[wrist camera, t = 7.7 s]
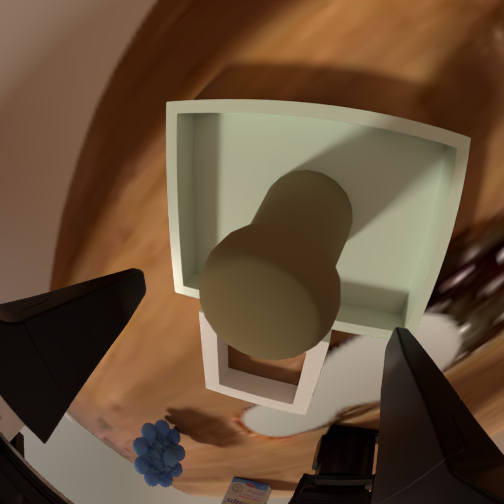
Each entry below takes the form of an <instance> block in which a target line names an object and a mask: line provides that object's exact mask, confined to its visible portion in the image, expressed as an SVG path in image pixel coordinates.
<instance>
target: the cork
mask: <svg viewBox="0 0 504 504" xmlns="http://www.w3.org/2000/svg"><path fill="white" fill-rule="evenodd" d="M352 222H353V216H352V206H351V203H350V201H349V198H348V196H347V194H346V192H345V191H344V190H343V189H342V187H341V186H340V185H339V184H338V183H337V182H336V181H335V180H333V179H331V178H330V177H328V176H326V175H325V174H323V173H319V172H315V171H310V170H303V171H293V172H291V173H289V174H286V175H284V176H282V177H280V178H279V179H278V180H277V181H276V182H275V183H274V184H273V185H271V186H270V188H269V190H268V192H267V194H266V196H265V197H264V199H263V201H262V203H261V205H260V207H259V209H258V210H257V212H256V214H255V216H254V218H253V220H252V222H251V224H249V225H247V226H244V227H242V228H239V229H237V230H235V231H232V232H231V233H230V234H228V235H227V236H226V237H225V238H224V239H223V240H222V241H221V242H220V243H219V244H218V245H217V246H216V247H215V248H214V249H212V250H211V252H210V254H209V256H208V259H207V261H206V263H205V265H204V268H203V270H202V272H201V275H200V285H199V296H200V303H201V306H202V310H203V313H204V316H205V318H206V320H207V321H208V323H209V324H210V326H211V328H212V329H213V331H214V332H215V333H216V334H217V335H218V336H219V337H220V338H221V339H222V340H224V341H225V342H226V343H227V344H228V345H230V346H232V347H233V348H235V349H237V350H238V351H240V352H242V353H244V354H247V355H250V356H253V357H256V358H259V359H270V360H281V359H288V358H294V357H296V356H298V355H300V354H302V353H304V352H306V351H308V350H310V349H312V348H313V347H315V346H316V345H317V344H318V343H319V342H320V341H321V340H322V339H323V338H324V337H325V336H326V335H327V334H328V333H329V331H330V330H331V328H332V326H333V324H334V322H335V319H336V317H337V314H338V311H339V309H340V302H341V284H340V277H339V274H338V272H337V269H336V265H337V263H338V260H339V258H340V255H341V253H342V251H343V248H344V246H345V243H346V241H347V238H348V236H349V233H350V229H351V226H352Z"/></svg>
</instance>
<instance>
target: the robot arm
mask: <svg viewBox="0 0 504 504" xmlns="http://www.w3.org/2000/svg"><path fill="white" fill-rule="evenodd" d="M145 293H146V284H145V278H144V273H143V271H142V270H139V269H135V268H131V269H128V270H124V271H120V272H117V273H113V274H110V275H106V276H103V277H99V278H96V279H92V280H89V281H85V282H82V283H78V284H75V285H71V286H68V287H64V288H61V289H58V290H55V291H51V292H47V293H44V294H40V295H37V296H33V297H29V298H25V299H20V300H16V301H12V302H8V303H3V304H0V504H74V503H73V502H71V501H70V500H69V499H68V498H66V497H65V496H64V495H63V494H62V493H60V492H59V491H58V490H57V489H55V488H54V487H53V486H52V485H51V484H50V483H49V482H48V481H46V480H45V479H44V478H43V477H42V476H41V475H40V474H39V473H38V472H37V471H36V470H35V469H34V468H33V467H32V466H31V465H30V464H29V463H28V462H27V461H26V460H25V459H24V436H23V435H22V434H21V433H20V432H19V431H20V430H21V429H22V428H23V426H24V425H26V427H27V428H28V429H29V430H30V431H31V432H32V433H33V434H34V435H35V436H36V437H37V438H39V439H40V440H41V441H42V442H43V443H44V444H45V443H46V442H47V441H48V439H49V438H50V436H51V434H52V433H53V431H54V429H55V428H56V426H57V425H58V423H59V422H60V420H61V419H62V417H63V415H64V414H65V412H66V411H67V409H68V408H69V406H70V405H71V403H72V401H73V400H74V398H75V397H76V395H77V394H78V392H79V391H80V389H81V388H82V387H83V385H84V384H85V382H86V381H87V379H88V378H89V376H90V375H91V373H92V372H93V371H94V369H95V368H96V366H97V365H98V364H99V362H100V361H101V359H102V358H103V356H104V355H105V354H106V352H107V351H108V350H109V348H110V347H111V345H112V344H113V343H114V341H115V340H116V339H117V337H118V336H119V334H120V333H121V332H122V330H123V329H124V328H125V326H126V325H127V323H128V322H129V320H130V319H131V317H132V315H133V314H134V312H135V310H136V309H137V307H138V305H139V304H140V302H141V300H142V299H143V297H144V296H145ZM459 399H460V397H459V396H458V394H457V393H456V391H455V390H454V389H453V387H452V386H451V384H450V383H449V382H448V380H447V379H446V378H445V376H444V375H443V373H442V372H441V371H440V369H439V368H438V367H437V365H436V364H435V363H434V362H433V360H432V359H431V358H430V356H429V355H428V354H427V353H426V351H425V350H424V349H423V347H422V346H421V345H420V344H419V342H418V341H417V340H416V338H415V337H414V336H413V335H412V333H411V332H410V331H409V330H408V329H407V328H403V327H395V329H394V330H393V332H392V335H391V337H390V339H389V342H388V344H387V346H386V350H385V360H384V369H383V378H382V386H381V401H380V426H379V431H376V430H367V429H359V428H351V427H344V426H338V425H331V426H330V427H329V429H328V431H327V432H326V434H325V435H322V436H321V438H320V440H319V442H318V444H317V448H316V452H315V456H314V460H313V464H312V469H313V470H316V471H315V475H310V474H305V473H304V474H303V476H302V478H301V479H300V481H299V483H298V486H297V488H296V490H295V492H294V495H293V497H292V498H291V500H290V501H289V503H288V504H504V455H503V454H502V452H501V451H500V450H499V449H498V447H497V446H496V445H495V443H494V442H493V441H492V440H491V438H490V437H489V436H488V435H487V433H486V432H485V431H484V430H483V428H482V427H481V426H480V424H479V423H478V422H477V421H476V419H475V418H474V417H473V415H472V414H471V412H470V411H469V410H468V408H467V407H466V405H465V404H464V403H463V401H462V400H461V399H460V400H459ZM378 438H379V442H378V454H377V464H376V473H375V474H374V475H372V470H373V462H374V452H375V442H376V441H377V439H378ZM369 490H371V492H369Z"/></svg>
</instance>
